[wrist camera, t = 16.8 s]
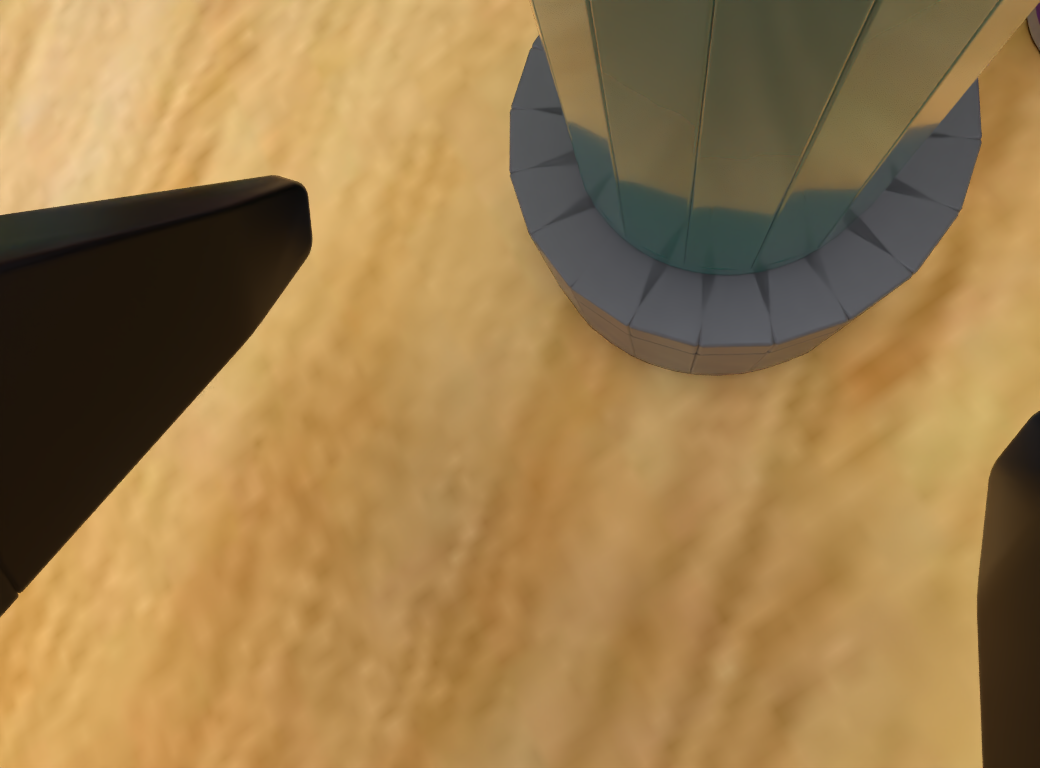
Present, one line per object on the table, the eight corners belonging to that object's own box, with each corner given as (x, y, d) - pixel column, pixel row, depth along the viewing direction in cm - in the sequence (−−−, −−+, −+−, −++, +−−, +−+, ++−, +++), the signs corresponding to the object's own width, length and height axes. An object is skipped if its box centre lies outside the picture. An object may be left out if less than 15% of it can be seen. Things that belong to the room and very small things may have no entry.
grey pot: (906, 372, 20) (996, 340, 15) (545, 378, 22) (507, 352, 17) (889, 26, 21) (967, -120, 16) (545, 62, 23) (510, -60, 18)
